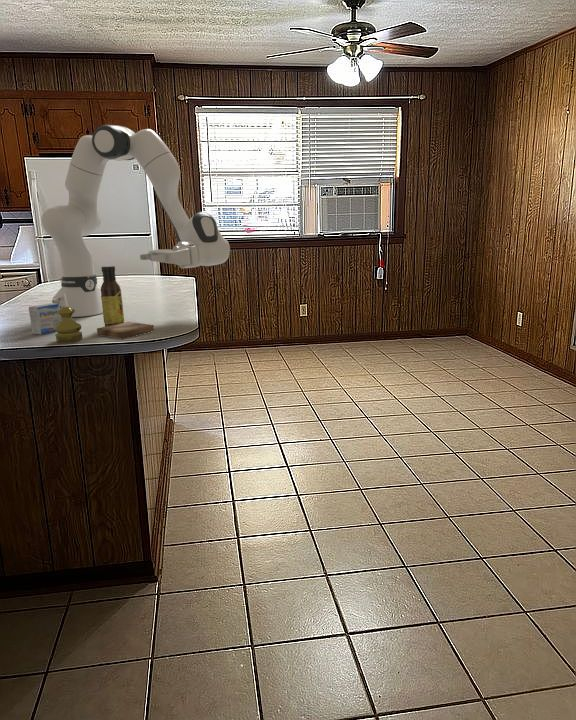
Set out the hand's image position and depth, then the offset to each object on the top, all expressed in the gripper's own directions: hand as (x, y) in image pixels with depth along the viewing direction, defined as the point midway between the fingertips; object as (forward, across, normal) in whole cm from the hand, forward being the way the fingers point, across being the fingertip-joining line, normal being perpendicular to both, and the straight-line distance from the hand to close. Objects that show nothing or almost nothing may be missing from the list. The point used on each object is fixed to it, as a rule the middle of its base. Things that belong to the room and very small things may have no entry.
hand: (145, 258), depth 182 cm
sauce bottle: (+12, -1, +22) cm, 25 cm away
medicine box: (+31, -11, +22) cm, 39 cm away
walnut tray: (+12, +9, +22) cm, 26 cm away
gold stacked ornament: (+29, +8, +22) cm, 37 cm away
